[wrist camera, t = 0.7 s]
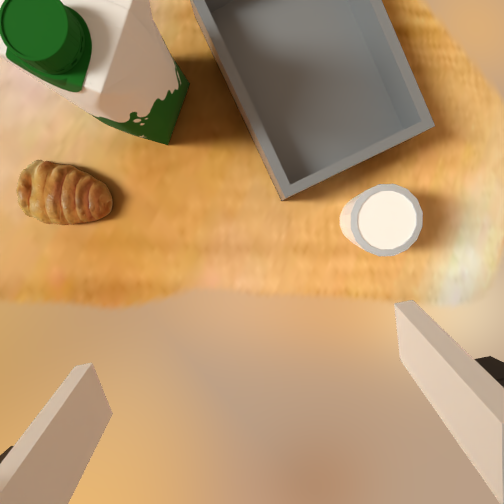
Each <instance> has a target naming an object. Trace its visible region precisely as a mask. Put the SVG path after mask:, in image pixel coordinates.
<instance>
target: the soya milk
mask: <svg viewBox="0 0 504 504" xmlns="http://www.w3.org/2000/svg"><path fill="white" fill-rule="evenodd" d="M0 57H1V58H3V59H4V60H6V61H7V62H9V63H11V64H12V65H14V66H15V67H17V68H19V69H20V70H22V71H23V72H25V73H27V74H28V75H30V76H31V77H33V78H34V79H36V80H38V81H39V82H41V83H42V84H44V85H46V86H47V87H49V88H50V89H52V90H53V91H55V92H56V93H58V94H60V95H61V96H63V97H64V98H66V99H67V100H69V101H70V102H72V103H73V104H75V105H77V106H78V107H80V108H81V109H83V110H84V111H86V112H87V113H89V114H91V115H92V116H94V117H95V118H97V119H98V120H100V121H101V122H103V123H105V124H107V125H109V126H111V127H114V128H116V129H119V130H121V131H124V132H126V133H129V134H132V135H135V136H138V137H141V138H145V139H148V140H152V141H155V142H159V143H162V144H166V145H168V144H169V141H170V138H171V135H172V133H173V130H174V127H175V124H176V121H177V118H178V116H179V113H180V110H181V107H182V104H183V101H184V99H185V96H186V93H187V90H188V87H189V85H190V83H189V82H188V80H187V79H186V77H185V76H184V74H183V73H182V71H181V69H180V68H179V66H178V65H177V63H176V62H175V60H174V59H173V57H172V56H171V54H170V52H169V50H168V48H167V46H166V44H165V42H164V40H163V38H162V36H161V34H160V32H159V30H158V28H157V26H156V24H155V23H154V21H153V18H152V13H151V8H150V3H149V0H0Z"/></svg>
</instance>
